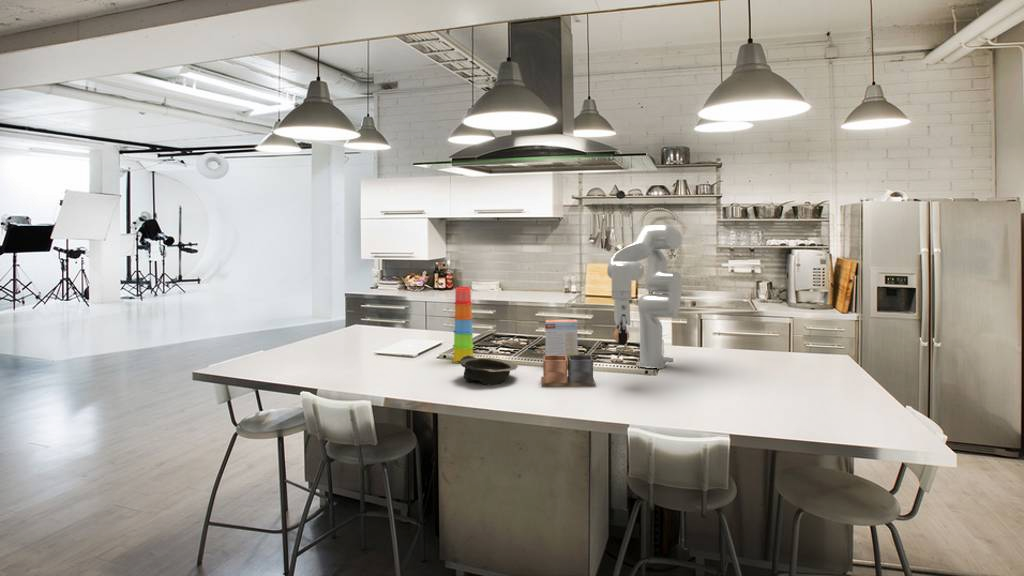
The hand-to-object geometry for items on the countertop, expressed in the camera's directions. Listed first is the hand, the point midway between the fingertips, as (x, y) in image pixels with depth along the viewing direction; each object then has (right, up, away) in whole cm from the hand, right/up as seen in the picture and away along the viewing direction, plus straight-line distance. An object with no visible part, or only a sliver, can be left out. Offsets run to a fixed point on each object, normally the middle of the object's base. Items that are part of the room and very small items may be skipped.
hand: (621, 340), depth 236 cm
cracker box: (-20, -15, +32) cm, 41 cm away
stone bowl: (-52, -17, +14) cm, 56 cm away
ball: (0, +2, 0) cm, 2 cm away
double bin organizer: (-20, -17, +7) cm, 27 cm away
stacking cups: (-65, -14, +47) cm, 81 cm away
